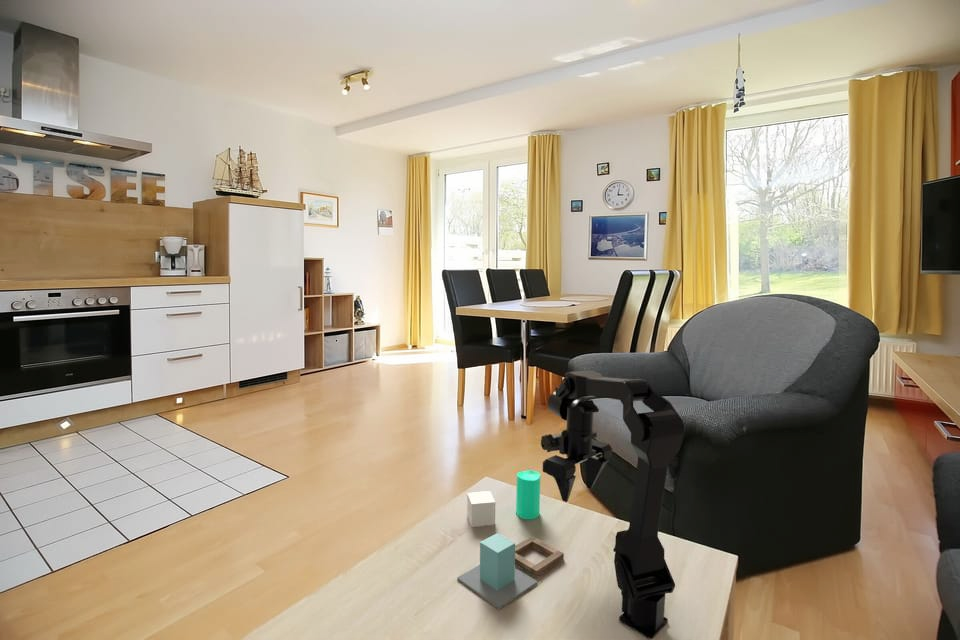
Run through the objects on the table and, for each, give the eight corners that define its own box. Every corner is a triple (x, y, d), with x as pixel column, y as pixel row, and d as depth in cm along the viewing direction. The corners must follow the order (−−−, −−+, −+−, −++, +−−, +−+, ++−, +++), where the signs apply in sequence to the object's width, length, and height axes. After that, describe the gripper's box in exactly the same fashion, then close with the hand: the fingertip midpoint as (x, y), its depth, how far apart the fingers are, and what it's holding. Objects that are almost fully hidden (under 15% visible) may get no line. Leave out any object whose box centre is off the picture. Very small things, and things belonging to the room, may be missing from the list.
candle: (539, 508, 132) (540, 464, 131) (539, 520, 126) (540, 474, 125) (516, 507, 133) (517, 463, 131) (515, 518, 127) (516, 473, 125)
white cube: (489, 513, 130) (490, 490, 129) (495, 525, 124) (495, 502, 123) (467, 515, 129) (467, 492, 128) (471, 527, 123) (471, 504, 122)
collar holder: (563, 559, 110) (563, 553, 109) (536, 577, 103) (536, 571, 103) (531, 542, 116) (531, 536, 116) (504, 558, 110) (504, 551, 110)
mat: (537, 583, 101) (537, 581, 101) (499, 609, 94) (499, 607, 94) (495, 558, 110) (495, 555, 110) (457, 579, 102) (457, 577, 102)
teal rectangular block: (514, 579, 102) (515, 543, 101) (497, 590, 98) (497, 552, 97) (497, 568, 105) (497, 533, 104) (479, 578, 102) (480, 542, 101)
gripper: (574, 410, 122) (572, 471, 124) (523, 427, 110) (522, 495, 111) (614, 421, 114) (612, 486, 116) (565, 441, 102) (563, 514, 103)
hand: (577, 494), depth 112 cm, fingers open, 9 cm apart
